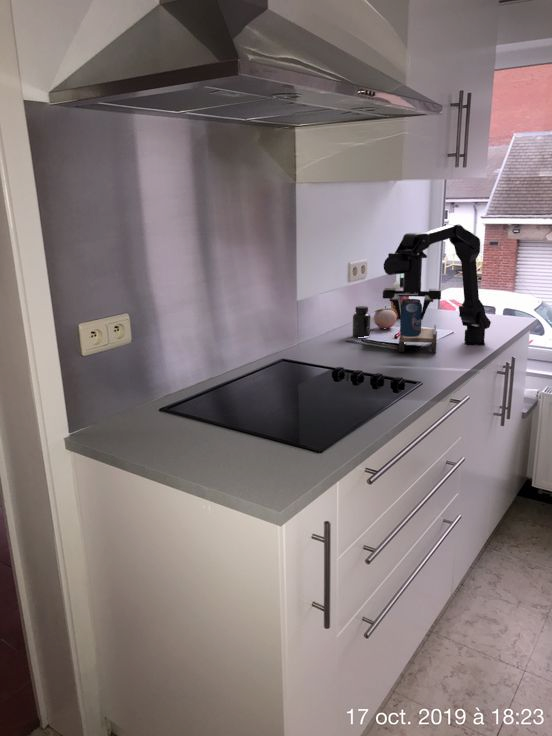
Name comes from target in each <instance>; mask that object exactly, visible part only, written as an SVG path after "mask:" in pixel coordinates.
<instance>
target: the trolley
mask: <svg viewBox="0 0 552 736" xmlns="http://www.w3.org/2000/svg"><path fill="white" fill-rule="evenodd" d="M437 333H438V330H437V324H434V325H433V328H422V327H421V333H420V335H419V336H418V337H404V336H402V335H401V333H399V340H398V352H399V353H400V352H401V353H403V352H404V353H405V344H404V342H406V343H422V344H423V343H427V344H428V343H429V344H430V345H431V348H430V351H431V354H436V353H437V339H438V338H437V337H438V335H437Z"/></svg>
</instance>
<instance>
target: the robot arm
mask: <svg viewBox="0 0 552 736" xmlns="http://www.w3.org/2000/svg"><path fill="white" fill-rule="evenodd" d="M445 240H449V242H450V244H452V246H453V247H454V251H455V255H456V257H457V258H458V259H459V261H460V263H461V265H460V266H461V275H462V285H463V287H462V288H463V299H464V300H463V302H462V305H459V307H458V311H459V317H460V320H461V323H462V326H464V327H466V329H465V330H464V343H465V345H471V346H472V345H474V346H476V345H478V346H485V345H486V342H485V335H486V330H488V329H489V328H490V326H491V325H492V321H491V320H490V319H489V318H488V316H487V315H486V311H485V306H484V305H483V302H481V300H480V297H479V283H478V269H477V259H478V257H479V255H480V252H481V239H480V238H479V236H477V235H475V234H474V233H473V232H471V231H469V230H467V229H466V228H464V226H462V225H461V224H459V223H448V224H447V225H445V226H441V227H437V228H434V229H431V230H428V231H425V232H409V233H405V234H404V235H403V237H402V239H401V241H400V242H399V245H398V246H397V248H396V250H395V252H394V253H392V252H391V253H388V257H387V258H386V259H385V260H384V262H383V271H384V272H385V274H386V275H388V276H392V275H394V276H395V275H400V274H401V275H402V274H403V277H401V278H400V277H399V281H400V288H403V291H396V288H391V287H385V288H384V289H383V290H382V299H387V300H388V299H389V302H391V301H392V302H393V303H394V306H395V308H396V311H397V314H398V317H399V320H400V317H401V312H400V301H399V296H409V297H423V298H424V300H423V303H422V304H423V305H422V315H421V321H423V319H424V317H425V314H426V312H427V309H428V307H429V305H430V304H431V303H433V302H434V300H437V301H438V300H441V299H442V290H441V289H440V288H428V290H422V270H423V269H422V268H423V267H422V266H423V259H427V258H428V255H427V254H426V253H425V252H424V251H426V250H427V249H428V248H429V247H430V246H431V245H433V244H436V243H439V242H442V241H445Z"/></svg>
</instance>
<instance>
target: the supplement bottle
mask: <svg viewBox="0 0 552 736" xmlns="http://www.w3.org/2000/svg"><path fill="white" fill-rule="evenodd" d="M369 335H370V336H371V314H369V307H368V306H365V305H358V306H355V313H353V315H352V337H353V338H354V339H357V338H358V337H364V336H369Z"/></svg>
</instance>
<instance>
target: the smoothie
mask: <svg viewBox="0 0 552 736" xmlns="http://www.w3.org/2000/svg"><path fill="white" fill-rule="evenodd" d="M400 278H402V274H399V279H400ZM390 288H396V291H403V288H400V280H396V281H395V282H393V284H392V285H391V286H390ZM404 299H410V296H399V301H400V312H401V304H402V302H403V300H404ZM390 308H392V309H394V310H395V311H394V310H393V311H394V312H395V314H396V316H397V319H396V320H398V319H399V317H398V314H397V311H396V308H395V306H394V303H393V302H392V301H390ZM399 320H400V319H399Z"/></svg>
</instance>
